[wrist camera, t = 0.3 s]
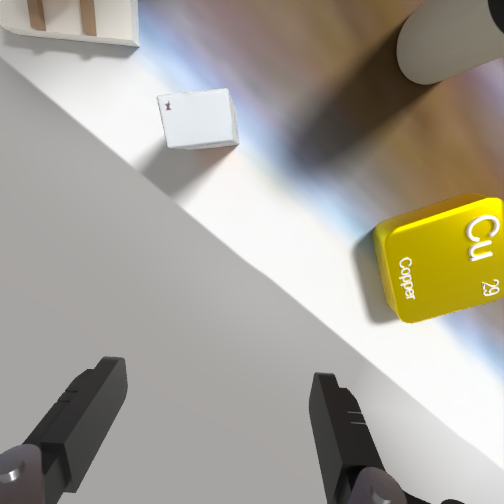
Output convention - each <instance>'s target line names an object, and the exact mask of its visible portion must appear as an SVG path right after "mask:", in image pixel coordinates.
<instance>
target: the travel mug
mask: <svg viewBox="0 0 504 504" xmlns="http://www.w3.org/2000/svg"><path fill="white" fill-rule="evenodd" d="M502 56H504V0H426V1H425V2H424V3H423V4H422V5H421V6H419V7H418V8H417V9H416V10H415V11H414V12H413V13H412V14H411V15H410V16H409V18H408V19H407V20H406V22H405V24H404V25H403V27H402V29H401V32H400V34H399V38H398V42H397V60H398V64H399V67H400V69H401V71H402V72H403V74H404V75H405V76H406V77H407V78H408V79H409V80H411V81H413V82H415V83H418V84H424V85H427V84H433V83H437V82H439V81H442V80H444V79H447V78H449V77H452V76H454V75H457V74H459V73H462V72H464V71H467V70H469V69H472V68H475V67H477V66H480V65H482V64H485V63H487V62H490V61H492V60H495V59H497V58H500V57H502Z"/></svg>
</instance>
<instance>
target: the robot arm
mask: <svg viewBox="0 0 504 504" xmlns="http://www.w3.org/2000/svg"><path fill="white" fill-rule="evenodd" d="M127 387H128V384H127V375H126V365H125V359H124V358H119V357H103V358H102V359H101V360H100V362H99V363H98V364H97V366H96V367H95V368H94V369H87V370H86V371H84V372H83V373H82V374H80V375H79V376H78V377H76V378H75V379H74V380H73V381H72V383H71V384H70V385H69V387H68V388H67V389H66V390H65V393H63V394H62V395H61V396H60V398H59V399H58V401H57V403H55V404H54V405H53V406H52V408H51V409H50V410H49V411H48V413H47V414H46V415H45V416H44V418H43V419H42V420H41V422H40V423H39V424H38V425H37V426H36V428H35V429H34V430H33V431H32V433H31V434H30V435H29V436H28V438H27V439H26V440H25V441H24V443H23V444H22V445H19V446H16V447H13V448H11V449H9V450H7V451H5V452H4V453H2V454H1V455H0V504H57V502H58V501H59V499H60V497H61V495H62V494H63V492H70V493H76V491H77V489H78V488H79V486H80V484H81V482H82V480H83V478H84V476H85V474H86V472H87V470H88V469H89V467H90V465H91V463H92V461H93V459H94V457H95V455H96V454H97V452H98V449H99V448H100V446H101V444H102V442H103V440H104V438H105V437H106V435H107V432H108V431H109V429H110V427H111V425H112V423H113V421H114V419H115V418H116V416H117V414H118V412H119V410H120V408H121V406H122V404H123V402H124V400H125V397H126V394H127ZM309 414H310V420H311V425H312V430H313V435H314V439H315V444H316V449H317V454H318V459H319V464H320V469H321V474H322V479H323V484H324V489H325V494H326V498H327V504H430V503H428V502H426V501H423V500H421V499H418V498H416V497H414V496H412V495H410V494H408V493H406V492H405V491H403V490H402V488H401V487H400V485H399V484H398V483H397V482H396V481H395V479H394V478H392V476H390V475H389V474H388V473H387V472H386V471H385V469H384V466H383V464H382V462H381V459H380V457H379V454H378V452H377V449H376V447H375V444H374V442H373V439H372V437H371V434H370V432H369V429H368V427H367V425H366V422H365V420H364V417H363V415H362V414H361V410H360V407H359V405H358V402H357V400H356V398H355V397H354V396H353V395H352V394H351V393H350V391H349V390H348V389H347V388H339V386H338V383H337V380H336V377H335V375H334V374H333V373H318V372H316V373H315V374H314V378H313V383H312V388H311V393H310V398H309ZM441 504H464V503H462V502H460V501H457V500H453V499H448V500H445V501H443V502H442V503H441Z"/></svg>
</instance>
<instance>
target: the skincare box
mask: <svg viewBox="0 0 504 504" xmlns="http://www.w3.org/2000/svg"><path fill="white" fill-rule="evenodd" d="M157 100H158V105H159V110H160V114H161V119H162V124H163V128H164V133H165V138H166V143H167V147H168V148H173V149H190V150H197V149H206V148H215V147H224V146H233V145H239V137H238V126H237V116H236V109H235V107H234V104H233V102H232V99H231V96H230V94H229V90H228V89H226V88H223V89H215V90H205V91H190V92H184V93H176V94H168V95H161V96H157Z"/></svg>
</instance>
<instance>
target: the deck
mask: <svg viewBox="0 0 504 504" xmlns="http://www.w3.org/2000/svg"><path fill="white" fill-rule="evenodd" d="M0 25H1V27H2V28H4V29H6V30H8V31H10V32H12V33H14V34H16V35H26V36H36V37H46V38H56V39H66V40H76V41H86V42H96V43H106V44H116V45H125V46H135V47H140V41H139V17H138V0H0Z"/></svg>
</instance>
